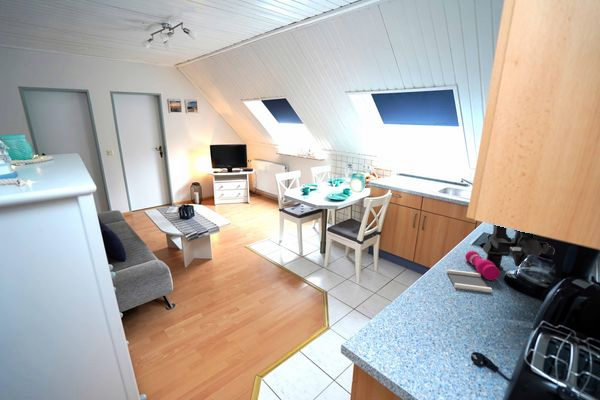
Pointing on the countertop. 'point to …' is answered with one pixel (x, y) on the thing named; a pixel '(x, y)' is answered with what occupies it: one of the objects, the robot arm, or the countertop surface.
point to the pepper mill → (483, 265)
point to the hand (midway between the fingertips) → (516, 265)
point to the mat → (468, 281)
